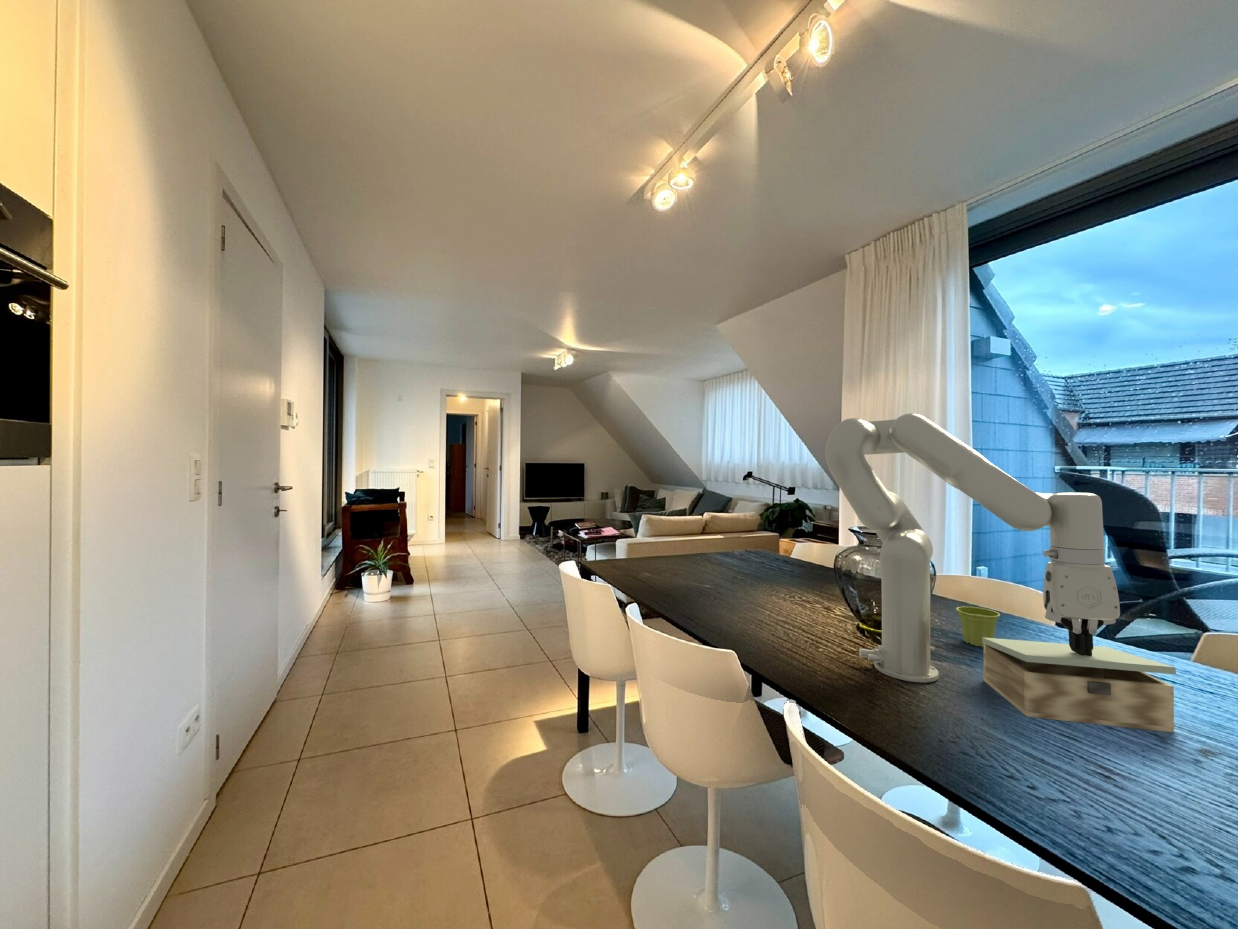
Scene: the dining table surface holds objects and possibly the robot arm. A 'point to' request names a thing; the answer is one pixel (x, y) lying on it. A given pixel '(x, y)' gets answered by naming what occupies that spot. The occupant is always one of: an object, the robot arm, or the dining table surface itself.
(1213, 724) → the dining table surface
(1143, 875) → the dining table surface
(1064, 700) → the crate
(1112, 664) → the lid
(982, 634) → the plant pot
